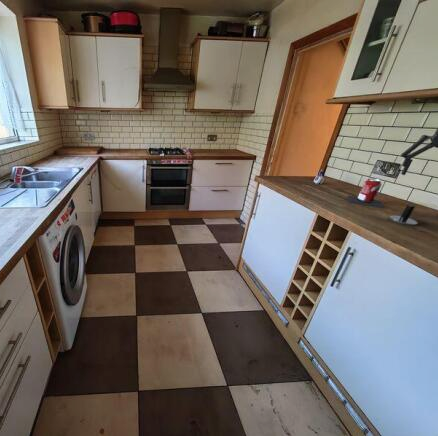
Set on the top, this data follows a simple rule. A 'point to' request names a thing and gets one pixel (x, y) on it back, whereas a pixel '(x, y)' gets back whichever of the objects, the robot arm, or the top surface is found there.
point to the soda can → (369, 190)
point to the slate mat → (374, 203)
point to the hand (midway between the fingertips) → (425, 177)
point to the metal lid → (405, 217)
